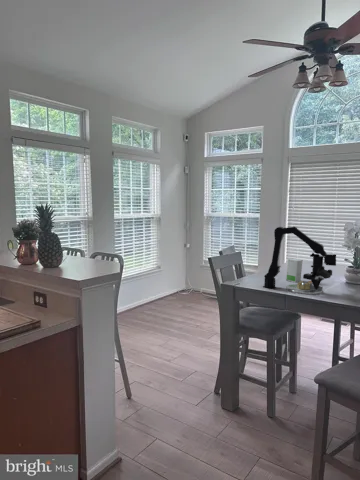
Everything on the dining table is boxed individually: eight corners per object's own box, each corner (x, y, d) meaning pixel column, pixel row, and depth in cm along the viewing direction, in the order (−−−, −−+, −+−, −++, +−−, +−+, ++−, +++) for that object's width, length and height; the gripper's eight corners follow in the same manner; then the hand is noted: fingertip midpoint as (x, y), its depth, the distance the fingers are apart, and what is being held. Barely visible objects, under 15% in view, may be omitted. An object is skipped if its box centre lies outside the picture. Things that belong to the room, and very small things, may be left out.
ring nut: (295, 288, 224) (295, 282, 223) (299, 285, 230) (300, 280, 230) (320, 292, 215) (320, 286, 214) (323, 289, 221) (324, 283, 221)
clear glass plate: (305, 295, 210) (305, 288, 209) (278, 287, 229) (278, 281, 228) (330, 292, 220) (330, 285, 220) (302, 284, 239) (303, 278, 239)
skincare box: (285, 280, 252) (286, 258, 250) (291, 279, 256) (292, 258, 254) (296, 282, 245) (297, 260, 243) (301, 281, 249) (302, 259, 248)
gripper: (318, 267, 204) (317, 294, 206) (339, 265, 213) (337, 290, 215) (303, 264, 213) (301, 289, 215) (323, 262, 223) (321, 286, 225)
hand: (316, 289), depth 217 cm, fingers closed
